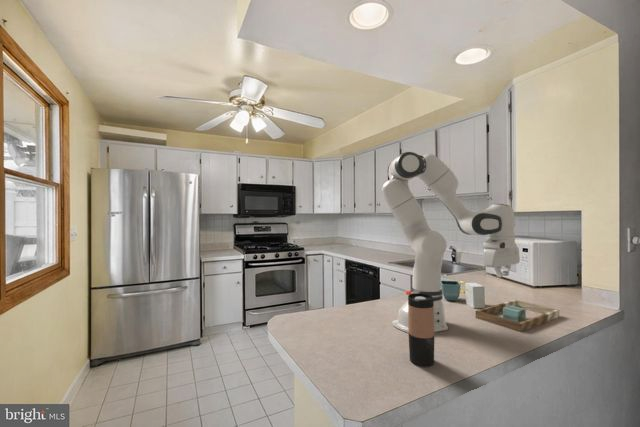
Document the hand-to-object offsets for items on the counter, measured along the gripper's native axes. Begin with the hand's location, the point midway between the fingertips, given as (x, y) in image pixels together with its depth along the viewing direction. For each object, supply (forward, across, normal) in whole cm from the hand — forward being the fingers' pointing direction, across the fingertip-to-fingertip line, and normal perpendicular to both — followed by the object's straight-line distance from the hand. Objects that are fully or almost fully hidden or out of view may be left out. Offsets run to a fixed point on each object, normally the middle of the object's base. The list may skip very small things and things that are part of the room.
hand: (502, 276), depth 121 cm
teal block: (+19, -8, 0) cm, 21 cm away
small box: (+19, -10, -19) cm, 29 cm away
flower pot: (+19, -9, -32) cm, 38 cm away
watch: (+19, -28, -38) cm, 51 cm away
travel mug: (+19, +54, +5) cm, 58 cm away
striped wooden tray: (+19, -11, 0) cm, 22 cm away
